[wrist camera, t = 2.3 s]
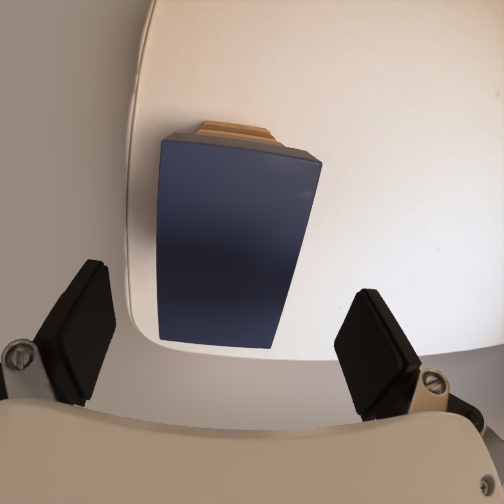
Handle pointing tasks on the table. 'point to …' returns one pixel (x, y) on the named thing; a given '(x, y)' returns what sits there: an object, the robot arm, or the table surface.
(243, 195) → the navy book
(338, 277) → the table surface
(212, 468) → the robot arm
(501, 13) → the table surface
